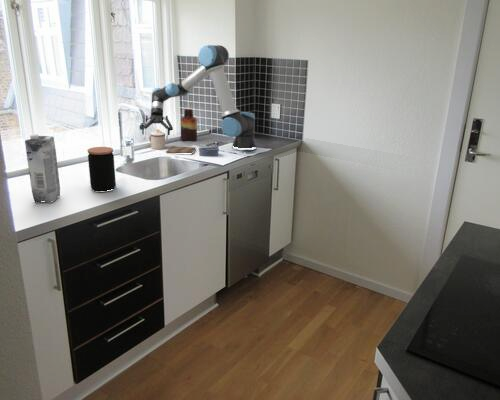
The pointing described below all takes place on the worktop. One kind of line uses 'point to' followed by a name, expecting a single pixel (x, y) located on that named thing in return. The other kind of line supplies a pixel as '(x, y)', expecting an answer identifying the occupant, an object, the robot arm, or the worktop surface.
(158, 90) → the robot arm
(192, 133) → the vase
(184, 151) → the walnut board
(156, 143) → the teacup with lid
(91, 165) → the coffee jar
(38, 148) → the juice carton
